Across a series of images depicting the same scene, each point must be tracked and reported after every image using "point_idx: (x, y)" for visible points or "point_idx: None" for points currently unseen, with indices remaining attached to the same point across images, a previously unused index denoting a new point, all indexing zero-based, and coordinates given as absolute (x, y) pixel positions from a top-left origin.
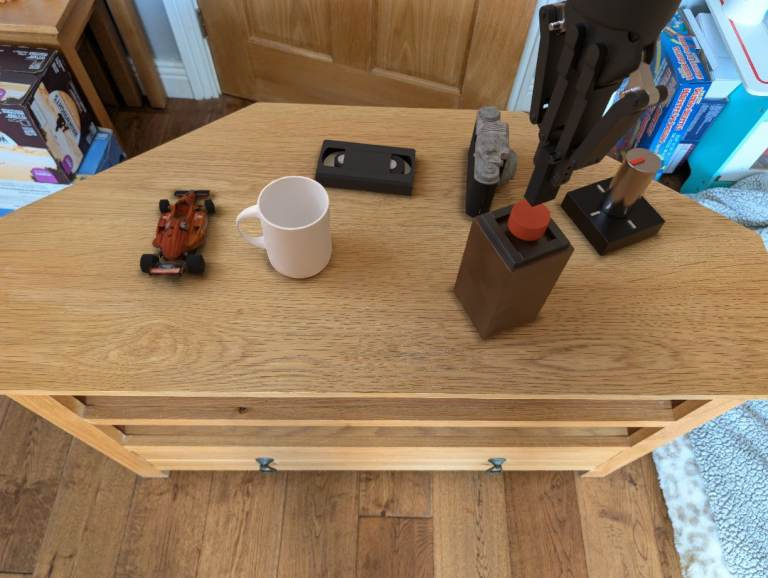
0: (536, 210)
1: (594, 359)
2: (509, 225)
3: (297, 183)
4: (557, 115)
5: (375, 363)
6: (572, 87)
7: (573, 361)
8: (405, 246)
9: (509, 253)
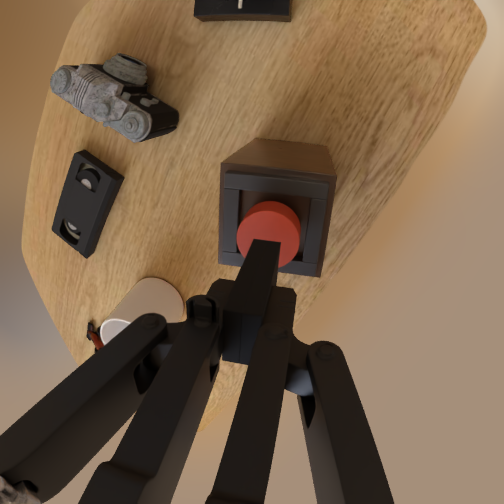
0: (265, 229)
1: (397, 126)
2: None
3: (106, 323)
4: (199, 418)
5: None
6: (173, 476)
7: (388, 147)
8: (180, 216)
9: (298, 273)
